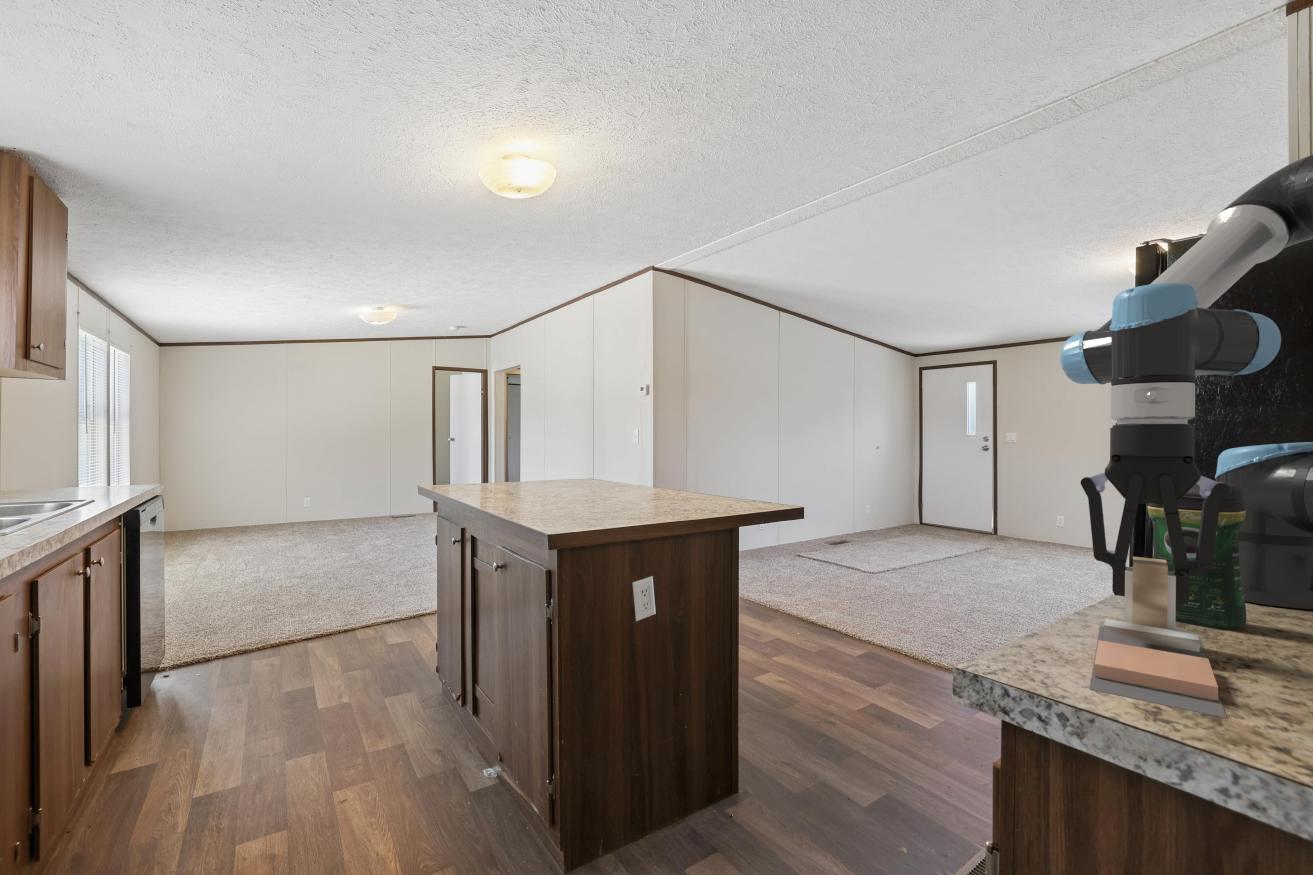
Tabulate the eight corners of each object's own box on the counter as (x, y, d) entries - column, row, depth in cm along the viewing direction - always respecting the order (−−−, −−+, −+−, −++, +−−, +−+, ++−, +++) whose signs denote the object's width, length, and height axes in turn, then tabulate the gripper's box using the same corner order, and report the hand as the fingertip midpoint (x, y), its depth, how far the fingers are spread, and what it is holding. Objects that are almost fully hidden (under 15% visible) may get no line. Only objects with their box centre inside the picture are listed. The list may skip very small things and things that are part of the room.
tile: (1208, 658, 62) (1218, 687, 55) (1208, 671, 62) (1218, 702, 55) (1098, 639, 67) (1094, 663, 60) (1098, 652, 67) (1094, 677, 60)
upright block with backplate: (1193, 632, 70) (1194, 562, 70) (1199, 651, 64) (1200, 574, 64) (1106, 619, 75) (1107, 553, 75) (1104, 635, 68) (1104, 564, 68)
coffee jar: (1251, 625, 79) (1252, 481, 79) (1238, 637, 74) (1239, 484, 74) (1157, 608, 87) (1158, 477, 87) (1139, 618, 82) (1141, 479, 82)
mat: (1200, 645, 71) (1200, 641, 71) (1226, 723, 52) (1226, 717, 52) (1099, 629, 77) (1099, 625, 77) (1089, 694, 58) (1089, 688, 58)
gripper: (1064, 422, 72) (1062, 622, 72) (1254, 421, 62) (1251, 652, 62) (1069, 423, 78) (1067, 608, 78) (1243, 423, 68) (1241, 634, 68)
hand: (1149, 627), depth 70 cm, fingers closed on upright block with backplate, 3 cm apart
